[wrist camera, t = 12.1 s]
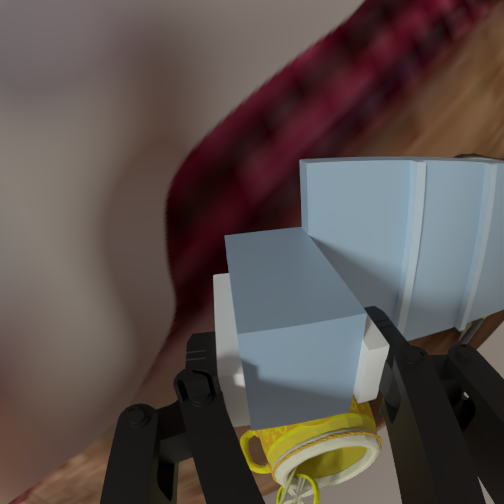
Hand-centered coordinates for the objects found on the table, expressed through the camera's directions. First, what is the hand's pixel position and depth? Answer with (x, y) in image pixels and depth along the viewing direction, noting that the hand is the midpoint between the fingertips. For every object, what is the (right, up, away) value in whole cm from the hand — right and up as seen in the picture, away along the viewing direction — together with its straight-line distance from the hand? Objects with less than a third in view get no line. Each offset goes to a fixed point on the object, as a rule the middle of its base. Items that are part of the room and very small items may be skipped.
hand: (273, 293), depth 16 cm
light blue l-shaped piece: (+9, +2, +3) cm, 9 cm away
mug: (+4, -13, +14) cm, 19 cm away
